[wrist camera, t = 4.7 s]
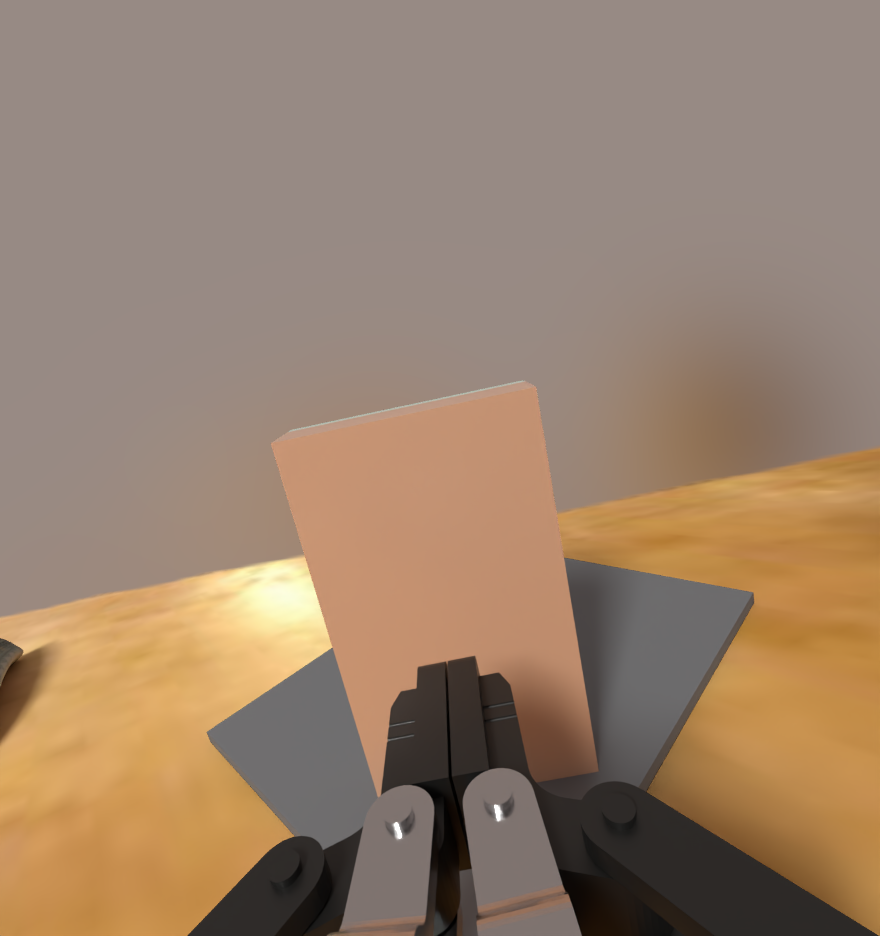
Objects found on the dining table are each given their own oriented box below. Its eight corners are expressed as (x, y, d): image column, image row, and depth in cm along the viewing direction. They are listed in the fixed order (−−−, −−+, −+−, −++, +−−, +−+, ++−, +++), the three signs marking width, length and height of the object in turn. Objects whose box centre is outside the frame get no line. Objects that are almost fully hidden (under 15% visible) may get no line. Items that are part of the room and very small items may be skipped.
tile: (387, 761, 21) (290, 430, 17) (582, 726, 20) (523, 380, 17) (382, 810, 19) (270, 443, 15) (598, 771, 18) (535, 386, 15)
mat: (489, 550, 39) (487, 543, 39) (754, 602, 27) (753, 592, 26) (210, 741, 25) (206, 732, 25) (493, 1058, 12) (489, 1041, 12)
